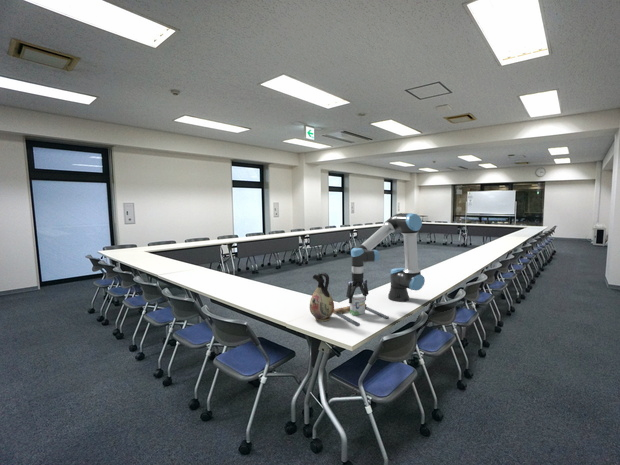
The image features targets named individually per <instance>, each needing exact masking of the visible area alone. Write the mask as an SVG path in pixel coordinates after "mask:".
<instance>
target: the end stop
mask: <svg viewBox="0 0 620 465" xmlns="http://www.w3.org/2000/svg"><path fill="white" fill-rule="evenodd" d="M365 307H367V304H366V303H365ZM338 312H339V313H341V314H345V313H350V305H349V306H343V307H337V308H334V312H333V314H334V315H336V313H338Z"/></svg>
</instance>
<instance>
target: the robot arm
mask: <svg viewBox="0 0 620 465" xmlns="http://www.w3.org/2000/svg"><path fill="white" fill-rule="evenodd" d="M422 226H423V220H422V218H421V216H420V215H419V214H417V213H412V212H409V213H407V212H406V213H405V212H404V213H403V212H399V213H396V214H395V215H392V216H391V217H389V218H388V219H387V220H386V221H384V222H383V225H382V226H381V227H380V228H378V230H376V231H375V232H374V233H372V235H370V237H368V238H367V239H365V241H363V242H362V244H360V245H359V246H357V247H353V248H352V249H351V250H350V255H351V281H348V282H347V290H346V298H348V303H349V306H350V308H352V309H353V298H352V297H353V295H355V292H356V290H357V288H359V290H360V293H361V294H362V295H364V296H365V302H366V301H367V296H368V295H369V288H368V280H367V279H364V270H365V269H364V266H365V265H364V264H365V263H375V262H377V261H379V260H380V257H381V256H380V255H381V254H380V252H379V250H376V249H374V248H376V246H378V245H379V244H380V243H381V242H382V241H383V240H385V239H386V238H387V237H388V236H389V235H390V234H391V233H392V234H393V233H395V232H396V231H397V230H398V231H399V230H400V234H401V235H403V251H404V267H395V268H392V269H390V288H389V293H388V295H387V297H388V300H391V301H395V302H407V301H409V300H410V295H409V292H408V289H409V290H411V291H415V292H417V291H419V290H421V289H422V288H423V287H424V285H425V277H424V275H423V274H421V269H419V263H418V262H419V260H418V243H417V242H418V240H417V235H418V234H419V231H420V229H421V227H422Z"/></svg>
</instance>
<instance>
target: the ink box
mask: <svg viewBox="0 0 620 465" xmlns="http://www.w3.org/2000/svg"><path fill="white" fill-rule="evenodd" d="M352 298H353V309H352V308H350V312H349V313H350V314H351V315H353V316H357V315H358V316H359V315H362V314H366V310H365V304H366V301H365V296H364V295H363V294H362V293H358V294H354V295H353V297H352Z"/></svg>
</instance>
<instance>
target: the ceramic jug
mask: <svg viewBox="0 0 620 465" xmlns="http://www.w3.org/2000/svg"><path fill="white" fill-rule="evenodd" d="M323 277H324V278H325V279H324V278H323ZM312 279H313V280H315V281H316V282H317V284H318V285H317V287H316V289H315V290H314V292H313V294H312V296H311V298H310V301H309V311H310V314H311V315H312V316H313V317H314V319H315V320H316V321H318V322H326V321H327V322H328V321H330V319H331V316H332V315H333V314H334V313H333V312H334V309H335V303H334V300H333V297H332V295H331V294H330V292H329V290H328V288H329V285H330V276H329V274H328V273H327V272H321V273H320V272H319V273H318V274H314V275H313V276H312Z"/></svg>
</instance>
